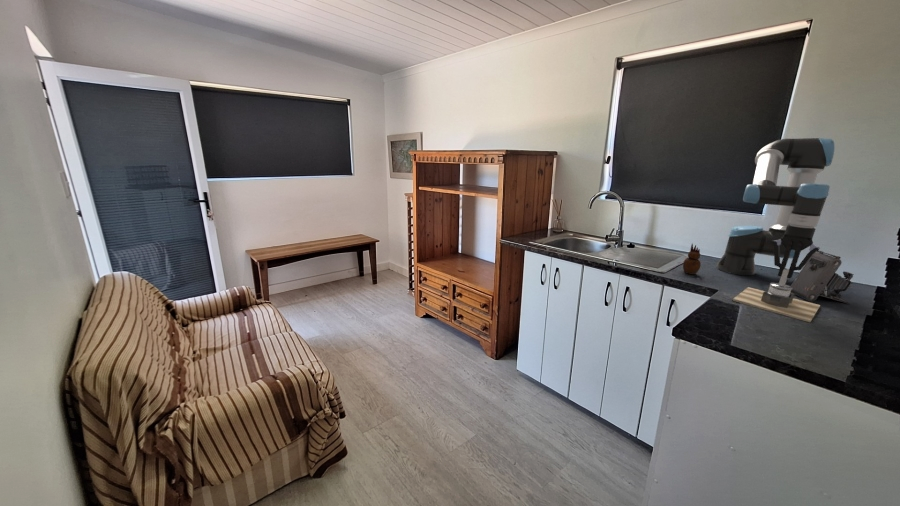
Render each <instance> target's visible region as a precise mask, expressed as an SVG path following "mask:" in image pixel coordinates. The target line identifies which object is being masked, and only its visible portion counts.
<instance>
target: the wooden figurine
mask: <svg viewBox="0 0 900 506" xmlns="http://www.w3.org/2000/svg"><path fill="white" fill-rule="evenodd" d="M689 250H690V251H689V252H688V254H687V258H685V259H684V261H683V264H682V268H683V272H684V273H687V274H688V273H689V275H695V274H697V273H698V272H699V271H700V269H701V264H702V263H701V260H699V259H700V258H701V253H700V252H701V251H700V248H699V247H697V244H695V246H694V244H693V243H691V246H690V249H689Z"/></svg>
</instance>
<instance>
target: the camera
mask: <svg viewBox="0 0 900 506" xmlns="http://www.w3.org/2000/svg"><path fill="white" fill-rule="evenodd" d="M842 263H843V261H842V260H841V256H837V255H835V254H831V253H828V252H824V251H823V250H818V251H817V252H815V253H813V255H812V256H811V257H810V259H809V260H808V261H807V263H806V264H805V265H804V266H803V268H802V269H801V270H799V273H798V274H797V276H796V277H795V279H794V281H792V283H791V285H790V286H791V287H792V288H793V289H792V290H791V293H794V294H795V295H794V296H797V297H800V298H802V299H804V300H806V301H807V302H814V301H816V300H817V299H818V297H819V296H821V297H823V298H827V299H831V300H834V301H836V302H837V301H838V302H841V303H845V304H847V305H850V302H848V301H846V300H844V299H842V298H841V297H842V295H841V294H840V293H841V292H846V291H847V290H848V289H849V288H851V285H852V284H854V283H853V282H852V281H851V280H852V279H853V277H854V275H855V273H851V272H849V271H843V272H842V273H843V277H842V276H841V275H839V273H837V271H838V269H839V268H840V267H841V265H842ZM827 290H829V293H828V291H827ZM830 290H831V291H830Z"/></svg>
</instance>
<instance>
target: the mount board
mask: <svg viewBox="0 0 900 506" xmlns="http://www.w3.org/2000/svg"><path fill="white" fill-rule="evenodd" d="M763 292H767V291H765V290H761V289H757V288H753V287H749V286H748V287H746V288H745V289H744V290H743V291H741V292H740V293H739V294H738V295H736V296H734V297H733V298H732V301H733V302H737V303H740V304H743V305H747V306H751V307H754V308H757V309H760V310H763V311H768V312H771V313H775V314H779V315H782V316H786V317H789V318H794V319H797V320H800V321H804V322H807V323H811V322H812V320H813V318H814V317H815V316H816V313H817V312H818V310H819V309H820V307H821V304H818V303H817V304H816V303H813V302H811V301H807V300H806V301H804V300H802V299H797V298H794V297H793V300H792V303H789V305H788V308H784V307H778V306H774V305H770V304H767V303H765V302H762V301H761V299H762V295H763Z"/></svg>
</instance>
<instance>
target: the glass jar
mask: <svg viewBox="0 0 900 506" xmlns="http://www.w3.org/2000/svg"><path fill="white" fill-rule="evenodd" d="M792 289H793V288H792V287H791V285H787V284H785V285H784V286H780V285H779V282H770V283H769V291H768V292H770V293H772V294H775V295H779V296H786V297H789V295H790V292H791V290H792Z"/></svg>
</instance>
